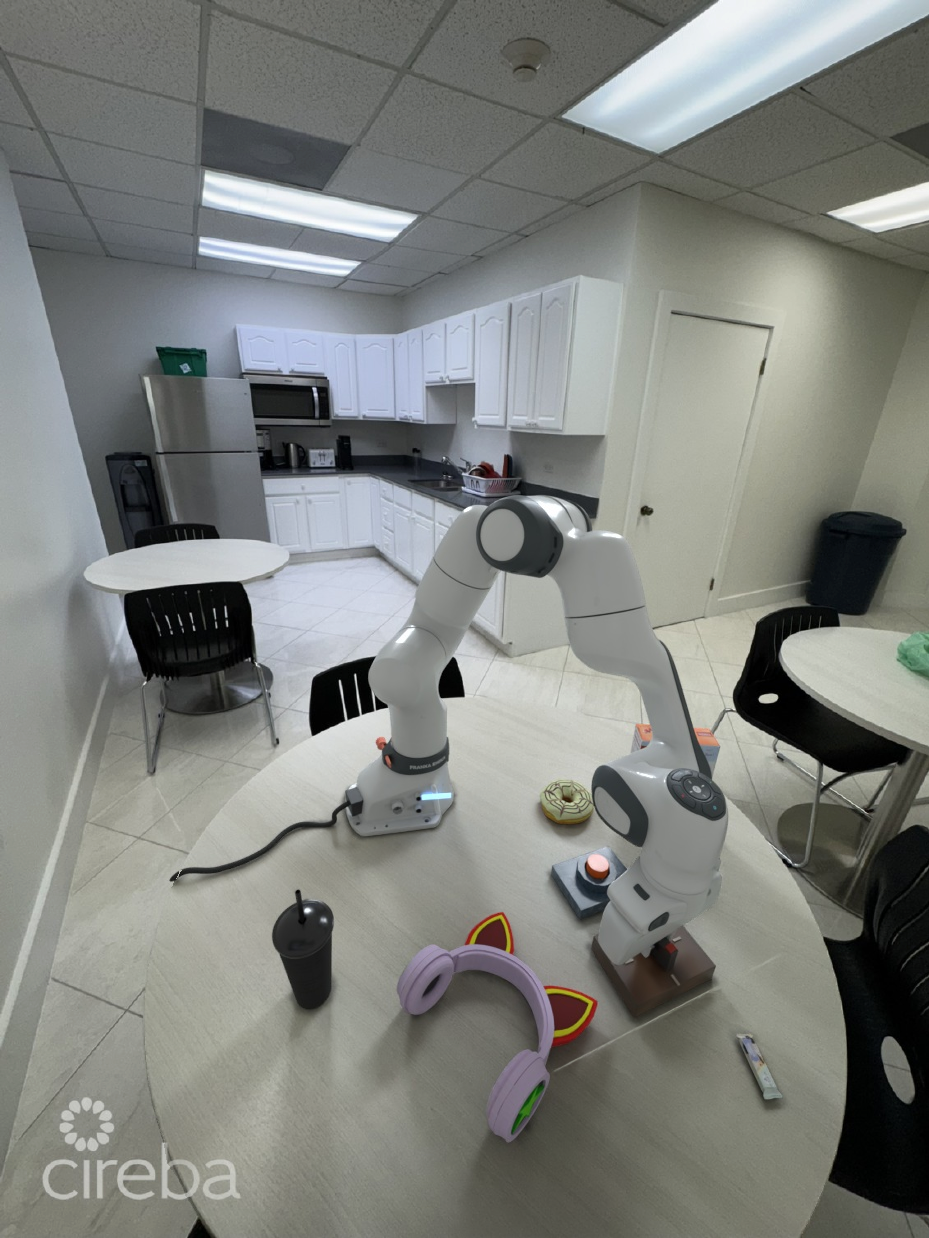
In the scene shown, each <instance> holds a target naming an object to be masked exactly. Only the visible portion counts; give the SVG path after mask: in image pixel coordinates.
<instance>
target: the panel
mask: <svg viewBox="0 0 929 1238" xmlns="http://www.w3.org/2000/svg"><path fill="white" fill-rule="evenodd" d="M598 936H599V933H597V934H594V935H593V936H592V942H591V947H590V949H591V950H592V953H593V954H594V956H595V958H596V959H597V961H598V963H600V965H601V967H602V968H603V970H604V972H605V973H606V975H607V977H608V979H609V980H610V981H611V983H612V985H613V986H614V988H615V990H616V991H617V993H618V995H619V996H620V998H621V999H622V1001H623V1003H624V1004H625V1006H626V1007H627V1009H628V1010H629V1012H630V1014H631V1016H632V1017H633V1018H637V1017H639V1016H642V1015H643V1014H645V1013H647V1012H649V1011H651V1010H653V1009H655V1008H657V1007H659V1006H661V1005H663V1004H665V1003H668V1002H669V1001H671V1000H672V999H675V998H677V997H679V996H681V995H683V994H684V993H686V992H688V991H690V990H692V989H694V988H696V987H698V986H701V985H702V984H704V983H706V982H708V981H710V980H712V979H713V975H714V974H715V971H716V968H717V965H716V964H715V963H714V961H713V960H712V959H711V958H710V956H709V955H708V954H707V953H706V952H705V950H704V949H703V948H702V946H700V944H699V943H698V941H697V940H696V939H695V938H694V937H693V936H692V935H691V933H690V932H689V931H688V930H687V928H686V927H685V926H684V925H683V926H681V927H680V928H678V930H677V931H676V932H675V933H674V935H673V936H672V938H671V941H670V942H671V943H672V944H673V945H674V946H675V947H676V948H677V949H678V954H677V957H676V961H675V964H674V966H673V967H672V968H671V969H669V970H668V971H667V972H666V971H665V970H664V969H663V967H662V966H661V965H660V964H659V963H658V962H657V961H656V959H655V958H654V957H653V956H652V955H650V956H648V957H644V956H643V955H642V953H639V954H637V955H636V956H634V957H633V958H631V959H630V960H628V961H626V962H625V963H624V964H622V965H620V966H618V965H616V964H614V963H613V962H612V961H611V960H610V959H609V958H608V956H607V955H606V954H605V952H604V951H603V949H602V948H601V946H600V944H599V941H598Z"/></svg>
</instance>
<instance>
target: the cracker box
mask: <svg viewBox="0 0 929 1238" xmlns="http://www.w3.org/2000/svg"><path fill="white" fill-rule="evenodd" d="M693 728H694V731H695V734H696V737H697V740H698V742H699V744H700V746H701V748H702V750H703V752H704V754H705V756H706V758H707V761H708V763H709V766H710V769H711V773H712V778H713V776H714V772H715V769H716V765H717V760H718V757H719V754H720V750H721V745H720V743H719V741H718V740H717V738H716V737H715V735H714V734H713V732H712V730H711V729H710V728H703V727H702V728H701V727H693ZM651 739H652V730H651V727H650V724H645V723H643V724H642V723H635V726H634V732H633V737H632V743H631V748H630V753H629V754H631V753H633V752H636V751H638V750H641V749H643V748H645V747H647V746H648V744H649V743H650V741H651Z"/></svg>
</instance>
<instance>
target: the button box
mask: <svg viewBox="0 0 929 1238" xmlns="http://www.w3.org/2000/svg"><path fill="white" fill-rule="evenodd" d="M592 854H599V855H602V856H604V857H605V858H606V859H607V860H608V863H609V869H608V874H607V876H606V877H605V878H603V879H596V878H594V877H592V876H591V875H589V873H588V872H587V870H586V865H587V859H588V857H589V856H590V855H592ZM627 869H628V868H627V867H626V866H625V865H624V863H623V862H622V861H621V860H620V858H619V857H618V856H617V855H616V854H615V852H614V851H613V850H612V849H611V847H610V846H609V845H607V846H604V847H601V848H599V849H596V850H593V851H589V852H587V853H585V854H581V855H579V856H575V857H573V858H570V859H566V860H564V861H562V862H561V861H560V862H559V863H555V864H553V865H551V869H550V875H551V877H552V878H553V880H554V882H555V883H556V885H557V886H558V888H559V890H560V892H561V893H562V894H563V896H564V897H565V899H566V900H567V902H568V903H569V905H570V906H571V908H572V910H573V911H574V913H575V915H576V916H577V918H578V920H583V919H585V918H588V917H589V916H592V915H594V914H597V913H600V912H602V911H604V910H605V908H606V906H607V904H608V903H609V902H610V901H611V900H610V898H609V897H608V895H607V890H608V887H609V885H610V884H611V883H612V882H614V881H615V880H616V879H617V878H618V877H620V876H621V875H622V874H623V873H624V872H625V871H626V870H627Z"/></svg>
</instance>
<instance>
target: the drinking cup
mask: <svg viewBox="0 0 929 1238" xmlns="http://www.w3.org/2000/svg"><path fill="white" fill-rule="evenodd" d="M294 895H295V902H294V903H293V904H291V905H289V906H288V907H286V908H285V909H284V910H283V911H282V912H281V913H280V914H279V915H278V917H277V919H276V920H275V923H274V925H273V927H272V932H271V940H272V945H273V948H275V951H276V952H277V953H278V955H279V957H280V961H281V963H282V966H283V968H284V970H285V973H286V977H287V979H288V982H289V985H290V987H291V990H292V993H293V996H294V998H295V1001H296V1003H297V1005H298V1006H299V1007H300V1008H302V1009H304V1010H308V1011H310V1010H315V1009H317V1008H319V1007H321V1006H323V1004H324V1003H325V1002H326V1001H328V998H329V996H330V995H331V991H332V973H333V971H332V965H333V964H332V963H333V962H332V961H333V957H332V956H333V931H334V927H335V918H334V917H335V916H334V913H333V911H332V909H331V907H330V906H329V905H328V904H327V903H326V902H325V901H322V900H320V899H316V898H315V899H314V898H306V899H303V897H302V891H301V889H300V888H298V889H296V890H295V891H294Z"/></svg>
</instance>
